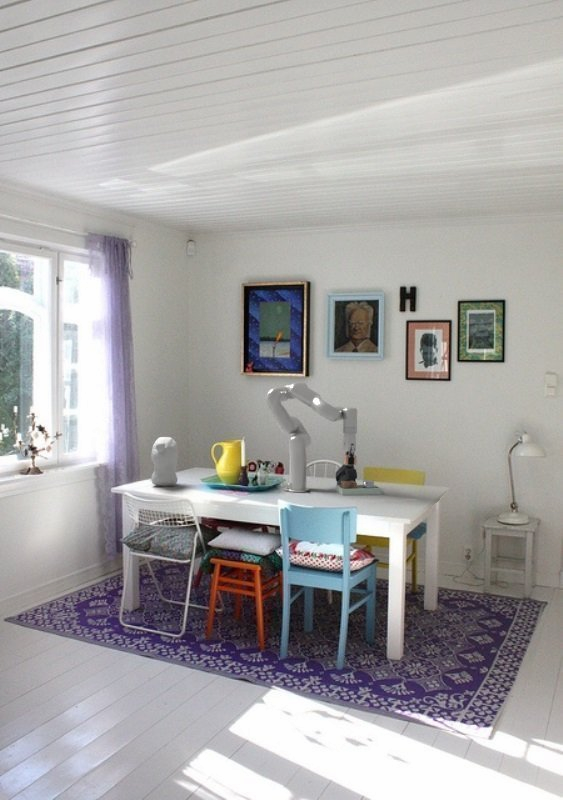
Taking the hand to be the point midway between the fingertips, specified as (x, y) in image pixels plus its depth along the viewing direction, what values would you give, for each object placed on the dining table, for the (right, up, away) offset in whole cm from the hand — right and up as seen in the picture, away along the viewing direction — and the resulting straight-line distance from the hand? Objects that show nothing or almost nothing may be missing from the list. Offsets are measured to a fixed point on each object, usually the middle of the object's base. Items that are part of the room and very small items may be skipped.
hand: (349, 463), depth 404 cm
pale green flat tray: (+5, -17, +2) cm, 18 cm away
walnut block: (0, -16, +1) cm, 16 cm away
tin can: (+10, -16, +3) cm, 19 cm away
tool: (0, -16, +20) cm, 26 cm away
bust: (-103, -15, +17) cm, 106 cm away
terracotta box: (0, -1, 0) cm, 1 cm away
